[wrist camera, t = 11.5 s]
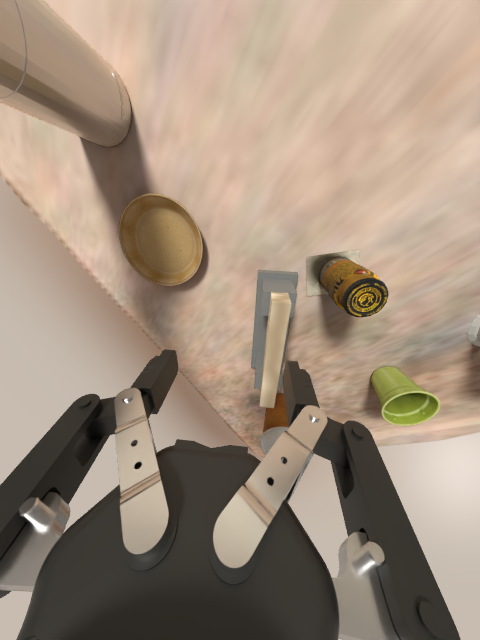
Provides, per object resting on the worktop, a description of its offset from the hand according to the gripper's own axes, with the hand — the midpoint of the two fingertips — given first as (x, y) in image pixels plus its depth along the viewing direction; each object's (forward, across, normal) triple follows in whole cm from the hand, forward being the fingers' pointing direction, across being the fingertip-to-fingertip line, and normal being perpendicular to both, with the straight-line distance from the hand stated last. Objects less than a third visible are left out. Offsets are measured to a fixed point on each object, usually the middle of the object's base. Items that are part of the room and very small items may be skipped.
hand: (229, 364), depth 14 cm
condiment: (+25, -15, 0) cm, 30 cm away
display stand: (+25, -6, +11) cm, 28 cm away
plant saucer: (+27, +15, -4) cm, 31 cm away
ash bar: (+17, -5, +11) cm, 21 cm away
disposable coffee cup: (+25, -10, +34) cm, 43 cm away
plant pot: (+24, -32, +21) cm, 46 cm away
